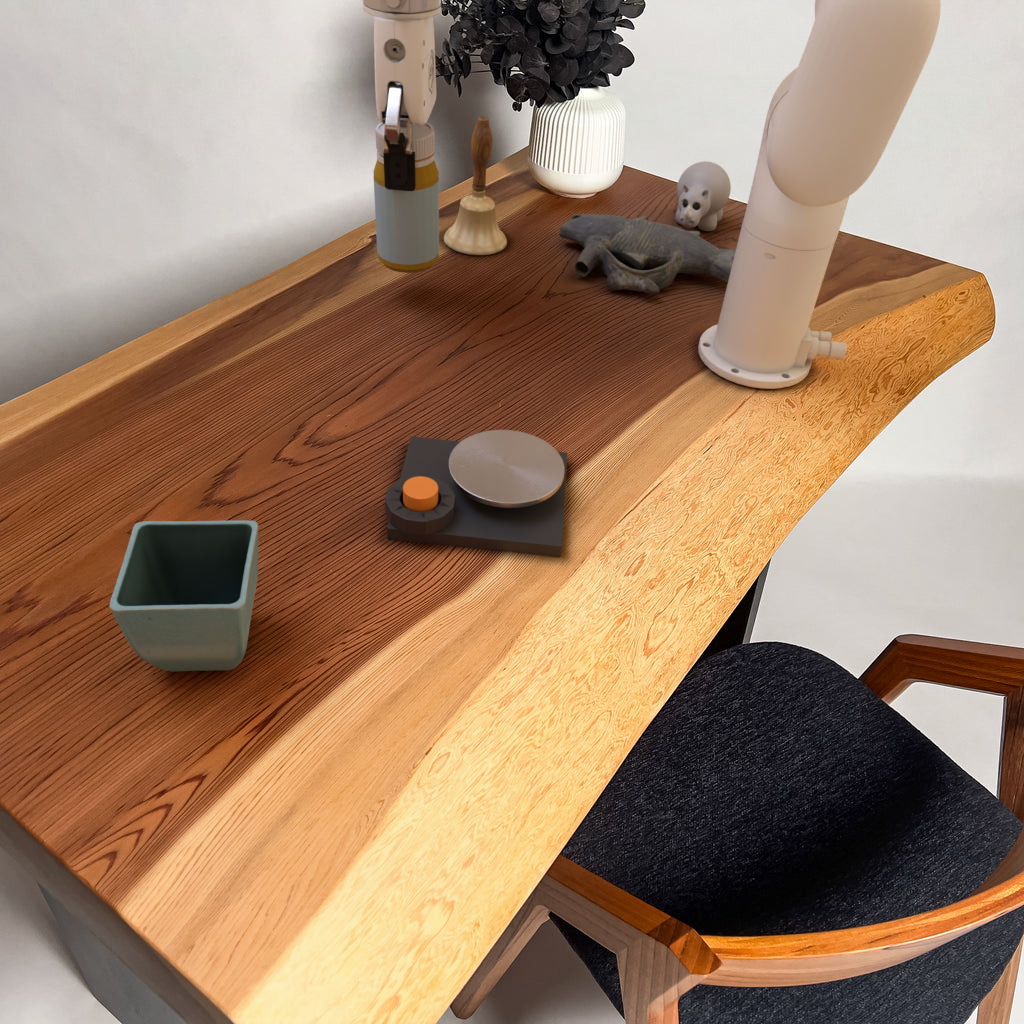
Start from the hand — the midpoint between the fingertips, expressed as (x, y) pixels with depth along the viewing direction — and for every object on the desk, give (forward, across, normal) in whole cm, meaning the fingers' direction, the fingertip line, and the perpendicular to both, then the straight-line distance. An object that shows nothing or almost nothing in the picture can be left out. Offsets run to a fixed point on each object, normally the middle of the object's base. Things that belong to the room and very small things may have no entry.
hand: (406, 173), depth 104 cm
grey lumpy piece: (+16, +12, -28) cm, 34 cm away
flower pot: (+15, -55, +7) cm, 57 cm away
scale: (+15, -35, -12) cm, 40 cm away
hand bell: (+15, +16, -6) cm, 23 cm away
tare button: (+13, -39, -7) cm, 42 cm away
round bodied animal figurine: (+16, +26, -35) cm, 46 cm away
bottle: (+10, 0, 0) cm, 10 cm away
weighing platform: (+12, -34, -14) cm, 39 cm away
